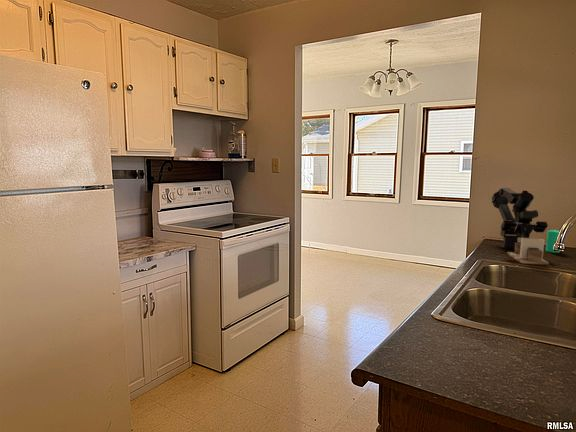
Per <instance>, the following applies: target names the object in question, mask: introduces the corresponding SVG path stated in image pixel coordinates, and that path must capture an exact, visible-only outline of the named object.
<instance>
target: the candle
mask: <svg viewBox="0 0 576 432" xmlns="http://www.w3.org/2000/svg"><path fill="white" fill-rule="evenodd" d="M559 231H560V230H557V229H550V230H547V232H546V233H547V234H546V244H545V251H546V252H548V253H555V254H556V253H557V254H559V253H560V252H561V250H560V251H554V250H553V245H554V243H555V241H556V239H557V236H558V234H559Z"/></svg>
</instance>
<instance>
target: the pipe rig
mask: <svg viewBox="0 0 576 432" xmlns="http://www.w3.org/2000/svg"><path fill="white" fill-rule="evenodd" d="M520 247H521V242H518V243H515V249H514V251H507V255H509V257H512V258H513V259H514V260H515V261H517V262H519V263H521V264H529V265H530V264H531V265H548V266H549V264H550V262H549V261H547V260H546V259H543V260H542V251H541V250H528V256H527V259H525V258H520Z"/></svg>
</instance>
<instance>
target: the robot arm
mask: <svg viewBox="0 0 576 432" xmlns="http://www.w3.org/2000/svg"><path fill="white" fill-rule="evenodd" d="M491 199H492V202H491V204H492V203H493V204H492V205H493V208H496V209H498V211H499V214H500V216H501V218H502V223H501V225H500V233H499V234H500V236H501V237H503V241H502V245H500V246H499V247H500V248H502V249H504V250H505V249H506V250H515V243H519V242H518V238H519V239H520V238H530V235H531V233H532V232H533V231H534V233H544V232H545V231H546V229H547V228H548V227H549V225H548V223H547V221H545V220H544V221H541V220H537V221H536V223H533V219H535V218H537V217H539V212H538V210H537V209H535V210H534V209H532V210H527V208H529V207H530V205H531V204H532V202H533V200H534V199H535V198H534V195H533V194H532V193H530V192H529V191H528V190H522V192H516V191H514V190H512V189H511V188H509V187H508V188H507V187H501V188H500V189H498V191H496V192H494V193H493V195H492V196H491ZM509 204H510V205H512V209H510V207H509Z"/></svg>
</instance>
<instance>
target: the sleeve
mask: <svg viewBox="0 0 576 432" xmlns="http://www.w3.org/2000/svg"><path fill="white" fill-rule="evenodd" d="M520 243H521V247H520V258H525V259H527V256H528V250H541V251H542V260H543V258H544V249H545V238H534V237H532V238H531V237H529V238H522V237H521V240H520Z"/></svg>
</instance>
